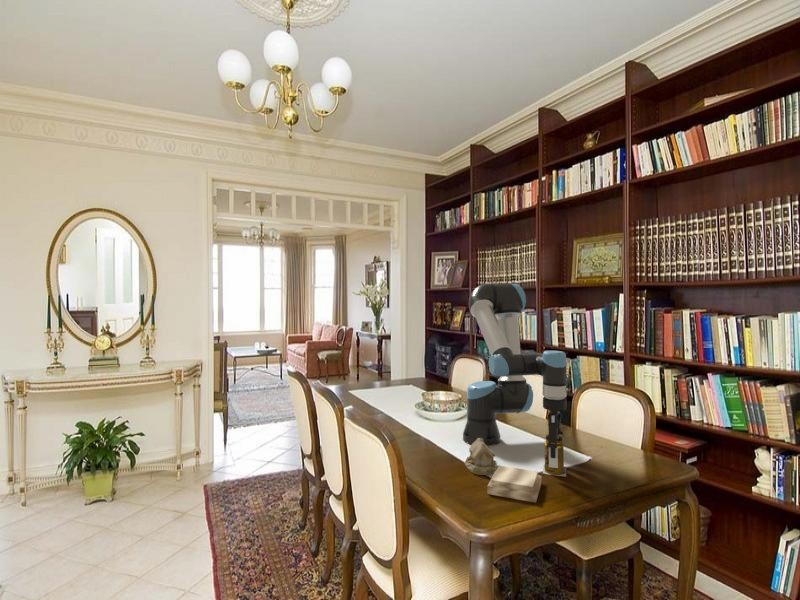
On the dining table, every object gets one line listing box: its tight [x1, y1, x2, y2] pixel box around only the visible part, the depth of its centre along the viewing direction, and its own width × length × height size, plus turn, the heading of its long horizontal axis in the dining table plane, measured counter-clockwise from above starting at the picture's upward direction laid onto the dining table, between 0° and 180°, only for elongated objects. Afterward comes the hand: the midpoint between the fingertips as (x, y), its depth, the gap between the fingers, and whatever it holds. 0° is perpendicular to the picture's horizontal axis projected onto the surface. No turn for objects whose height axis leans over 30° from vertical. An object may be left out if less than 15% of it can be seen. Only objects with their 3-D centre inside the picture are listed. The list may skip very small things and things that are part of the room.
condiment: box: [542, 434, 567, 478], centre depth 147 cm, size 7×8×12 cm
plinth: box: [486, 465, 542, 503], centre depth 134 cm, size 14×14×4 cm
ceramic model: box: [464, 438, 497, 476], centre depth 151 cm, size 14×11×10 cm
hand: (555, 460), depth 147 cm, fingers open, 13 cm apart
